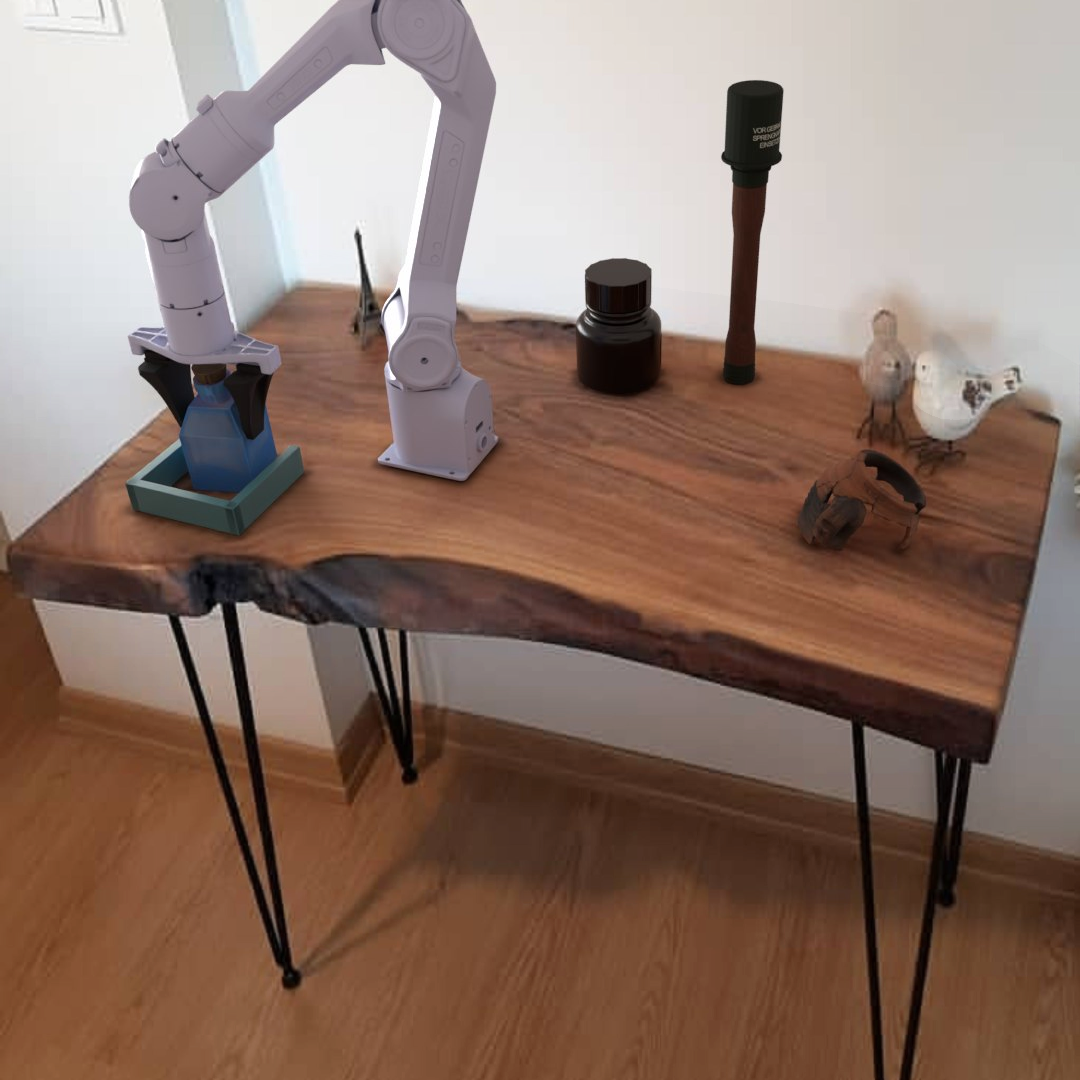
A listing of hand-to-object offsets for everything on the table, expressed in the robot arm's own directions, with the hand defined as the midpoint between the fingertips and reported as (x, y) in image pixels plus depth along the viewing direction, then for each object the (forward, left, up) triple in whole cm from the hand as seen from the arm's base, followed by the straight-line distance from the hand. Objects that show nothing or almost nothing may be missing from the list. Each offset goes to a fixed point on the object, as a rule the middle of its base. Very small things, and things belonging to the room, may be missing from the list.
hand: (222, 428), depth 115 cm
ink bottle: (-28, -31, -6) cm, 42 cm away
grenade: (-40, -35, -6) cm, 53 cm away
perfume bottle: (0, -1, -6) cm, 6 cm away
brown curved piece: (-57, -11, -6) cm, 58 cm away
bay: (0, +2, -6) cm, 6 cm away
